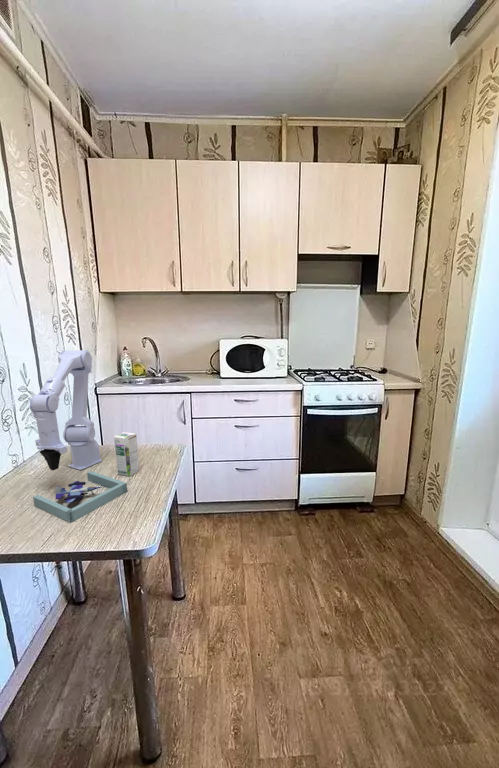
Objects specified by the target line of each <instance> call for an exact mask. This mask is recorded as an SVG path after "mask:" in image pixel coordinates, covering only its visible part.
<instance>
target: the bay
mask: <svg viewBox="0 0 499 768" xmlns="http://www.w3.org/2000/svg"><path fill="white" fill-rule="evenodd" d="M86 476H87V477H86V478H87V481H88V482H91V483H94V484H97V485H99V486H101V487H103V488H108V489H107V490H105V491H103V492H101V493H99V494H97V495H96V496H95V495H94V496H92V498H89V499H88V500H86V501H84V502H81V503H80V504H78V505H76V506H74V507H72V508H69V507H68V506H64V505H62V504H61V503H58V502H56V501H53V500H52V499H50V498H49V499H48V498H47V497H44V496H42V495H41V494H40V495H39V494H36V495H34V496H32V499H33V500H32V501H33V505H34V507H36V508H39V509H41V510H43V511H45V512H46V513H49V514H51V515H53V516H56V517H57V518H60V519H62V520H64V521H66V522H67V523H68V522H69V523H72V522H75V521H76V520H79V519H80V518H81V517H84V516H86V515H87V514H89V513H91V512H93V511H95V510H96V509H98V508H100V507H102V506H104V505H105V504H107V503H109V502H111V501H113V500H114V499H116V498H118V497H120V496H122V495H123V494H125V493H127V492H128V484H127V482H125V481H121V480H119V479H116V478H113V477H110V476H107V475H104V474H101V473H98V472H95V471H92V470H90V471H87V472H86ZM105 486H107V487H105Z"/></svg>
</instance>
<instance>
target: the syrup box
mask: <svg viewBox="0 0 499 768" xmlns="http://www.w3.org/2000/svg"><path fill="white" fill-rule="evenodd" d="M137 437H138V436H137V433H133V432H126V431H123V432H120V433H117V434H116V435H115V436H113V441H114V450H115V452H114V453H115V459H116V469H117V470H116V471H117V472H116V473H117V475H120V476H121V475H122V476H127V477H131V476H133V475H134V474H135V473H137V472H138V471H140V469H141V468H140V461H139V460H140V459H139V449H138V438H137Z"/></svg>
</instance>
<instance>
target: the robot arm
mask: <svg viewBox="0 0 499 768" xmlns="http://www.w3.org/2000/svg"><path fill="white" fill-rule="evenodd" d="M57 361H58V365H57V368H56V369H55V372H54V374H53V376H52V377H51V376H50V377H48V378H47V379H46V381H45V383H44V384H43V386H42V387H41V389H40V390H39V392H38V394H35V395H33V396H32V397H31V398H30V400H29V410H30V412H31V413H32V415H33V417H34V419H35V420H36V421H35V422H36V426H37V431H38V432H37V433H38V439H36V440H34V441H35V446H36V449H37V450H40V451H39V453H40V455H42V457H43V458H44V460H45V461H46V463H47V466H48V468H49V470H50V471H55V470H56V471H57V469H59V468H60V459H61V456H62V454H64V453H67V452H68V448H67V446H66V445H65V444H64V443H63V442H62V441H61V438H60V433H59V425H58V424H59V423H58V418H57V412H56V411H57V410H58V409H59V402H60V397H61V394H62V392H63V391H64V389H65V383H64V382H65V380H66V379H67V377H69V374H71V375H72V377H73V384H72V385H73V386H72V389H73V392H72V411H71V418H69V419H68V420H67V421H66V422H65V425H64V430H63V433H62V436H63V437H62V438H63V440H64V441H65V443H67V444H68V446H70V454H71V460H72V463H69V464H68V465H67V467H69V468H72V469H76V470H78V471H82V470H84V469H87V468H89V467H91V466H94V465H96V464H98V463H99V464H100V462H102V461H103V460H102V459H101V455H100V445H99V443H98V441H97V440H96V439H95V437H96V429H95V423H94V421H92V420H91V419H90V418H89V417H88V416H87V415H88V396H89V395H88V392H89V375H90V373H92V369H93V368H92V367H93V365H92V363H93V357H92V354H91V353H90V351H89V350H87V349H84V350H82V349H81V350H64V349H63V350H61V351H60V352H59V355H58V357H57Z"/></svg>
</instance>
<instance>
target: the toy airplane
mask: <svg viewBox="0 0 499 768" xmlns="http://www.w3.org/2000/svg"><path fill="white" fill-rule="evenodd" d="M86 484H87V482H86V481H80V480H76V481H75V480H74V481H73V482H71V483H69V484H68V485H67V488H68V487H69V488H70V489H69V490H66V487H62V486H60V485H57V486H54V491H55V493H54V494H55V499H54V500H61V499H62V498H63V496H64V495H65V496H66V497H64V498H63V501H64V504H71V503H73V502H74V501H76V500H77V501H78V500H80V499H81V500H82V499H83V497H85V495H87V494H88V493H89V492H91V494H90V495H91V497H95V493H94V491H95V490H98V489H102V488H103V486H96V485H93V484H92V485H88V486H86ZM84 486H85V487H84ZM104 488H107V486H105V487H104Z"/></svg>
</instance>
